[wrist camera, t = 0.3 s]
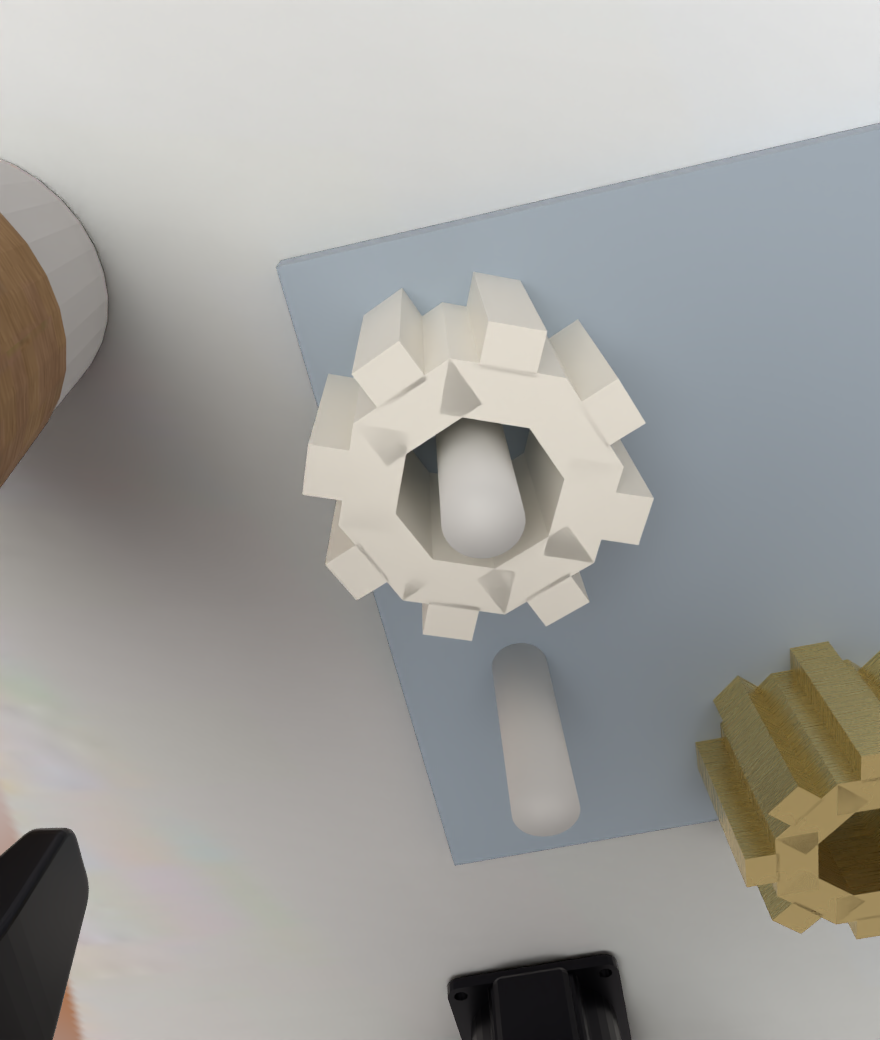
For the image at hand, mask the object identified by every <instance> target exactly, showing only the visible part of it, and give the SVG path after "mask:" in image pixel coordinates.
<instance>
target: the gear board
mask: <svg viewBox="0 0 880 1040" xmlns="http://www.w3.org/2000/svg"><path fill="white" fill-rule="evenodd" d="M276 269H277V272H278V275H279V279H280V282H281V285H282V289H283V292H284V295H285V299H286V302H287V305H288V309H289V312H290V315H291V319H292V322H293V326H294V329H295V332H296V336H297V339H298V342H299V346H300V349H301V352H302V356H303V359H304V362H305V366H306V369H307V372H308V376H309V379H310V382H311V386H312V389H313V392H314V396H315V399H316V403H317V406H318V408H319V404H320V401H321V397H322V394H323V390H324V387H325V383H326V380H327V376H328V374H334V375H340V376H346V377H352V378H354V377H353V376H352V369H353V364H354V359H355V354H356V350H357V345H358V340H359V335H360V330H361V325H362V321H363V316H364V315H365V314H366V313H367V312H369V311H370V310H372V309H373V308H374V307H376V306H377V305H379V304H380V303H381V302H383V301H384V300H386V299H387V298H388V297H390V296H391V295H393V294H394V293H395V292H397V291H398V290H400V289H401V288H403V290H404V291H405V293H406V294H407V295H408V297H409V298H410V300H411V301H412V302H413V304H414V305H415V307H416V308H417V310H418V311H419V312H420V314H421V315H422V316H423V315H425V314H426V313H428V312H429V311H430V310H432V309H433V308H435V307H436V306H437V305H439V304H440V303H442V302H444V303H450V304H455V305H461V306H467V301H468V296H469V291H470V285H471V280H472V275H473V272H478V273H483V274H489V275H494V276H500V277H505V278H511V279H516V280H520V281H521V283H522V285H523V286H524V288H525V290H526V292H527V294H528V296H529V298H530V300H531V302H532V303H533V305H534V307H535V309H536V311H537V313H538V315H539V317H540V319H541V320H542V322H543V324H544V326H545V328H546V330H547V336H548V338H550V337H552V336H553V335H555V334H556V333H558V332H559V331H561V330H562V329H564V328H565V327H567V326H568V325H570V324H571V323H573V322H574V321H576V320H577V319H578V320H579V321H580V323H581V324H582V326H583V327H584V329H585V330H586V332H587V333H588V335H589V336H590V338H591V339H592V340H593V342H594V343H595V345H596V346H597V348H598V349H599V351H600V352H601V354H602V355H603V357H604V358H605V360H606V361H607V362H608V364H609V365H610V367H611V368H612V370H613V371H614V373H615V374H616V376H617V377H618V379H619V380H620V382H621V383H622V385H623V387H624V388H625V390H626V392H627V393H628V395H629V396H630V398H631V400H632V401H633V403H634V405H635V406H636V408H637V410H638V411H639V413H640V414H641V416H642V418H643V419H644V421H645V424H644V425H642V426H640V427H639V428H637V429H636V430H634V431H632V432H631V433H629V434H627V435H626V436H624V437H622V438H621V439H620V440H621V442H622V444H623V445H624V447H625V449H626V450H627V452H628V454H629V456H630V457H631V459H632V461H633V463H634V464H635V466H636V468H637V470H638V471H639V473H640V475H641V477H642V478H643V480H644V482H645V484H646V485H647V487H648V489H649V491H650V492H651V494H652V496H653V498H654V500H653V503H652V506H651V509H650V512H649V515H648V518H647V521H646V524H645V527H644V530H643V533H642V536H641V539H640V542H639V545H635V544H628V543H621V542H615V541H608V540H601V542H600V546H599V549H598V552H597V555H596V558H595V562H594V563H593V564H591V565H590V566H588V567H586V568H584V569H583V570H581V571H579V572H580V575H581V578H582V581H583V584H584V587H585V590H586V593H587V596H588V599H589V601H590V602H589V603H587V604H585V605H584V606H582V607H580V608H578V609H576V610H575V611H573V612H571V613H569V614H568V615H566V616H564V617H562V618H561V619H559V620H557V621H555V622H554V623H552V624H550V625H548V626H545V624H544V623H543V622H542V621H541V619H540V618H539V617H538V615H537V614H536V613H535V611H534V610H533V609H532V608H531V606H530V605H529V604H528V602H526V603H524V604H522V605H520V606H519V607H517V608H515V609H513V610H512V611H510V612H508V613H507V614H505V615H504V614H497V613H490V612H483V611H479V613H478V618H477V622H476V626H475V630H474V634H473V638H472V641H468V640H461V639H453V638H446V637H438V636H431V635H424V634H423V628H422V603H418V602H410V601H403V600H402V599H401V598H400V597H399V595H398V594H397V593H396V592H395V591H394V590H393V588H392V587H391V586H390V585H389V584H388V583H387V582H386V583H385V584H383V585H382V586H380V587H378V588H377V589H375V590H373V593H374V597H375V600H376V603H377V607H378V610H379V613H380V617H381V620H382V623H383V627H384V630H385V633H386V637H387V640H388V644H389V647H390V650H391V654H392V657H393V660H394V664H395V667H396V670H397V674H398V677H399V680H400V684H401V687H402V690H403V694H404V697H405V700H406V704H407V707H408V710H409V714H410V717H411V721H412V724H413V727H414V731H415V734H416V737H417V741H418V744H419V747H420V751H421V754H422V757H423V761H424V764H425V767H426V771H427V774H428V777H429V781H430V784H431V787H432V791H433V794H434V797H435V801H436V804H437V808H438V811H439V814H440V818H441V821H442V824H443V828H444V831H445V834H446V838H447V841H448V844H449V848H450V851H451V854H452V858H453V861H454V864H455V865H461V864H466V863H472V862H478V861H484V860H490V859H495V858H501V857H507V856H513V855H519V854H524V853H530V852H536V851H542V850H548V849H553V848H559V847H565V846H571V845H577V844H582V843H588V842H594V841H600V840H606V839H611V838H617V837H623V836H629V835H635V834H640V833H646V832H652V831H658V830H663V829H669V828H675V827H681V826H687V825H692V824H698V823H704V822H710V821H716V820H719V819H718V816H717V814H716V811H715V809H714V806H713V804H712V802H711V799H710V797H709V794H708V792H707V790H706V787H705V785H704V782H703V780H702V777H701V775H700V773H699V770H698V766H697V755H696V745H695V742H699V741H705V740H710V739H716V738H721V728H720V723H721V722H722V721H723V720H722V718H721V716H720V714H719V712H718V710H717V708H716V706H715V704H714V702H713V700H714V699H715V698H716V697H717V696H718V695H719V694H720V693H721V692H722V691H723V690H724V689H725V688H726V687H727V686H728V685H729V684H730V683H731V682H732V680H733V679H734V678H735V677H736V676H737V675H738V676H740V677H742V678H743V679H745V680H747V681H749V682H751V683H752V684H754V685H756V686H759V685H760V684H761V683H762V682H763V681H764V680H765V679H766V678H767V677H768V676H769V675H770V674H771V673H776V672H782V671H787V670H790V648H794V647H800V646H805V645H810V644H816V643H821V642H826V641H829V643H830V644H831V645H832V647H833V648H834V650H835V651H836V652H837V654H838V655H839V656H840V658H841V659H842V660H847V659H848V660H850V661H852V662H853V663H855V664H857V665H858V666H860V667H863V666H864V665H865V664H866V663H867V662H868V661H869V660H870V659H871V658H872V657H873V656H874V655H875V654H877V653H878V652H879V651H880V123H878V124H873V125H869V126H865V127H860V128H856V129H852V130H847V131H843V132H839V133H834V134H830V135H825V136H821V137H817V138H812V139H808V140H804V141H799V142H795V143H791V144H786V145H782V146H778V147H773V148H769V149H764V150H760V151H756V152H751V153H747V154H743V155H738V156H734V157H730V158H725V159H721V160H717V161H712V162H708V163H703V164H699V165H695V166H690V167H686V168H682V169H677V170H673V171H669V172H664V173H660V174H656V175H651V176H647V177H642V178H638V179H634V180H629V181H625V182H621V183H616V184H612V185H608V186H603V187H599V188H595V189H590V190H586V191H581V192H577V193H573V194H568V195H564V196H560V197H555V198H551V199H547V200H542V201H538V202H534V203H529V204H525V205H520V206H516V207H512V208H507V209H503V210H499V211H494V212H490V213H486V214H481V215H477V216H472V217H468V218H464V219H459V220H455V221H451V222H446V223H442V224H438V225H433V226H429V227H425V228H420V229H416V230H411V231H407V232H403V233H398V234H394V235H390V236H385V237H381V238H377V239H372V240H368V241H364V242H359V243H355V244H350V245H346V246H342V247H337V248H333V249H329V250H324V251H320V252H316V253H311V254H307V255H303V256H298V257H294V258H289V259H285V260H281V261H280V263H279V264H278V265H277V267H276ZM529 430H530V428H525V427H519V426H512V425H506V424H500V423H494V422H488V421H482V420H476V419H470V418H463V417H462V418H461V419H459V420H457V421H456V422H454V423H453V424H451V425H450V426H448V427H447V428H445V429H444V430H442V431H441V432H439V433H438V434H436V435H435V436H433V437H432V438H430V439H428V440H427V441H425V442H424V443H422V444H421V445H419V446H418V447H416V448H415V449H413V450H412V451H413V452H414V453H415V455H416V456H417V457H418V458H419V460H420V461H421V462H422V464H423V465H424V466H425V467H426V469H427V470H428V471H429V472H430V473H437V474H438V481H439V497H440V513H441V527H442V532H443V535H444V537H445V539H446V540H447V542H448V543H449V545H450V546H451V547H452V548H454V549H455V550H456V551H458V552H459V553H461V554H463V555H465V556H468V557H472V558H480V559H482V558H492V557H495V556H498V555H501V554H503V553H505V552H507V551H508V550H510V549H511V548H512V547H513V546H514V545H515V544H516V543H517V542H518V541H519V539H520V538H521V536H522V534H523V531H524V528H525V519H526V518H525V512H524V508H523V504H522V500H521V496H520V492H519V488H518V484H517V481H516V477H515V473H514V469H513V465H512V461H511V460H513V459H515V458H516V457H518V456H519V455H521V454H523V453H524V450H525V446H526V442H527V438H528V434H529Z"/></svg>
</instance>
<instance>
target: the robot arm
mask: <svg viewBox="0 0 880 1040" xmlns="http://www.w3.org/2000/svg"><path fill="white" fill-rule="evenodd" d="M88 893H89V885H88V878H87V874H86V871H85V867H84V864H83V860H82V856H81V853H80V849H79V845H78V842H77V838H76V836H75V834H74V832H73V831H72V830H71V829H68V828H39V829H34V830H31V831H29V832H28V833H26V834H25V835H24V836H22V837H21V838H20V839H19V840H18V841H17V842H16V843H14V844H13V845H12V846H11V847H10V848H9V849H8V850H6V851H5V852H4V853H3V854H2V855H1V856H0V1040H53V1036H54V1033H55V1029H56V1025H57V1021H58V1018H59V1013H60V1010H61V1006H62V1002H63V998H64V994H65V990H66V986H67V982H68V978H69V974H70V970H71V966H72V962H73V958H74V954H75V950H76V946H77V942H78V938H79V934H80V930H81V926H82V922H83V918H84V914H85V910H86V906H87V902H88ZM448 1000H449V1003H450V1006H451V1009H452V1012H453V1015H454V1018H455V1021H456V1024H457V1027H458V1029H459V1032H460V1035H461V1038H462V1040H631V1035H630V1030H629V1024H628V1019H627V1013H626V1008H625V1002H624V997H623V991H622V986H621V980H620V975H619V970H618V965H617V961H616V959H615V958H614V957H613V956H610V955H598V956H592V957H586V958H579V959H573V960H567V961H561V962H555V963H549V964H543V965H536V966H530V967H524V968H518V969H512V970H506V971H499V972H493V973H487V974H481V975H475V976H469V977H463V978H457V979H454V980H452V981H450V982H449V984H448Z"/></svg>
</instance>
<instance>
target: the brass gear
mask: <svg viewBox="0 0 880 1040" xmlns="http://www.w3.org/2000/svg"><path fill="white" fill-rule="evenodd" d="M713 702H714V704H715V706H716V708H717V710H718V712H719V714H720V716H721V718H722V720H723V721H722V722H721V723H720V728H721V738H716V739H710V740H705V741H699V742H695V745H696V755H697V766H698V770H699V773H700V775H701V777H702V780H703V782H704V785H705V787H706V790H707V792H708V794H709V797H710V799H711V802H712V804H713V806H714V809H715V811H716V814H717V816H718V819H719V821H720V823H721V826H722V828H723V831H724V833H725V836H726V838H727V840H728V843H729V845H730V848H731V850H732V853H733V855H734V857H735V860H736V862H737V865H738V867H739V870H740V872H741V874H742V877H743V879H744V882H745V884H746V887H751V886H758V888H759V890H760V893H761V895H762V897H763V900H764V902H765V904H766V907H767V909H768V911H769V914H770V916H771V918H772V920H773V921H775V922H777V923H779V924H781V925H783V926H786V927H788V928H790V929H792V930H794V931H796V932H798V933H801V934H802V933H803V932H804V931H805V930H806V929H808V928H809V927H810V926H811V925H813V924H814V923H815V922H816V921H818V920H819V919H820V918H821V917H822V918H824V919H826V920H828V921H830V922H832V923H835V924H841V923H847V922H848V924H849V926H850V928H851V930H852V931H853V933H854V935H855V937H856V939H861V938H868V937H874V936H880V651H879V652H878V653H877V654H875V655H874V656H873V657H872V658H871V659H870V660H869V661H868V662H867V663H866V664H865V665H864V666H863V667H860V666H858V665H857V664H855V663H853V662H852V661H850V660H848V659H847V660H842V659H841V658H840V656H839V655H838V654H837V652H836V651H835V650H834V648H833V647H832V645H831V644H830V643H829V641H826V642H821V643H816V644H810V645H805V646H800V647H794V648H790V670H787V671H782V672H776V673H771V674H770V675H769V676H768V677H767V678H766V679H765V680H764V681H763V682H762V683H761V684H760V685H759V686H756V685H754V684H752V683H751V682H749V681H747V680H745V679H743V678H742V677H740V676H738V675H737V676H736V677H735V678H734V679H733V680H732V682H731V683H730V684H729V685H728V686H727V687H726V688H725V689H724V690H723V691H722V692H721V693H720V694H719V695H718V696H717V697H716V698H715V699H714V700H713Z"/></svg>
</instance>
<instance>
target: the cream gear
mask: <svg viewBox="0 0 880 1040" xmlns="http://www.w3.org/2000/svg"><path fill="white" fill-rule="evenodd" d="M352 376H353V377H354V378H352V377H346V376H340V375H334V374H328V376H327V380H326V383H325V387H324V390H323V394H322V397H321V401H320V404H319V408H318V411H317V415H316V418H315V422H314V425H313V429H312V432H311V436H310V439H309V443H308V449H307V458H306V466H305V474H304V483H303V491H302V495H308V496H314V497H321V498H328V499H334V500H336V506H335V511H334V517H333V522H332V528H331V533H330V539H329V544H328V550H327V555H326V561H325V565H326V567H327V568H328V569H329V570H330V571H331V572H332V573H333V574H334V576H335V577H336V578H337V579H338V580H339V581H340V582H341V583H342V585H343V586H344V587H345V588H346V589H347V590H348V591H349V592H350V594H351V595H352V596H353V597H354V598H355V599H356V600H359V599H360V598H362V597H364V596H365V595H367V594H369V593H370V592H372V591H373V590H375V589H377V588H378V587H380V586H382V585H383V584H385V583H386V582H387V583H388V584H389V585H390V586H391V587H392V588H393V590H394V591H395V592H396V593H397V594H398V595H399V597H400V598H401V599H402V600H403V601H410V602H418V603H422V628H423V634H424V635H431V636H438V637H446V638H453V639H461V640H468V641H472V638H473V634H474V630H475V626H476V622H477V618H478V613H479V611H483V612H490V613H497V614H504V615H505V614H507V613H508V612H510V611H512V610H513V609H515V608H517V607H519V606H520V605H522V604H524V603H526V602H528V604H529V605H530V606H531V608H532V609H533V610H534V611H535V613H536V614H537V615H538V617H539V618H540V619H541V621H542V622H543V623H544V624H545V626H548V625H550V624H552V623H554V622H555V621H557V620H559V619H561V618H562V617H564V616H566V615H568V614H569V613H571V612H573V611H575V610H576V609H578V608H580V607H582V606H584V605H585V604H587V603H589V602H590V601H589V599H588V596H587V593H586V590H585V587H584V584H583V581H582V578H581V575H580V572H579V571H581V570H583V569H584V568H586V567H588V566H590V565H591V564H593V563H594V562H595V558H596V555H597V552H598V549H599V546H600V542H601V540H608V541H615V542H621V543H628V544H635V545H639V542H640V539H641V536H642V533H643V530H644V527H645V524H646V521H647V518H648V515H649V512H650V509H651V506H652V503H653V500H654V498H653V496H652V494H651V492H650V491H649V489H648V487H647V485H646V484H645V482H644V480H643V478H642V477H641V475H640V473H639V471H638V470H637V468H636V466H635V464H634V463H633V461H632V459H631V457H630V456H629V454H628V452H627V450H626V449H625V447H624V445H623V444H622V442H621V440H620V439H621V438H622V437H624V436H626V435H627V434H629V433H631V432H632V431H634V430H636V429H637V428H639V427H640V426H642V425H644V424H645V421H644V419H643V418H642V416H641V414H640V413H639V411H638V410H637V408H636V406H635V405H634V403H633V401H632V400H631V398H630V396H629V395H628V393H627V392H626V390H625V388H624V387H623V385H622V383H621V382H620V380H619V379H618V377H617V376H616V374H615V373H614V371H613V370H612V368H611V367H610V365H609V364H608V362H607V361H606V360H605V358H604V357H603V355H602V354H601V352H600V351H599V349H598V348H597V346H596V345H595V343H594V342H593V340H592V339H591V338H590V336H589V335H588V333H587V332H586V330H585V329H584V327H583V326H582V324H581V323H580V321H579V320H578V319H577V320H576V321H574V322H573V323H571V324H570V325H568V326H567V327H565V328H564V329H562V330H561V331H559V332H558V333H556V334H555V335H553V336H552V337H550V338H548V336H547V330H546V328H545V326H544V324H543V322H542V320H541V319H540V317H539V315H538V313H537V311H536V309H535V307H534V305H533V303H532V302H531V300H530V298H529V296H528V294H527V292H526V290H525V288H524V286H523V285H522V283H521V281H520V280H516V279H511V278H505V277H500V276H494V275H489V274H483V273H478V272H473V275H472V280H471V285H470V291H469V296H468V301H467V306H461V305H455V304H450V303H444V302H442V303H440V304H439V305H437V306H436V307H435V308H433V309H432V310H430V311H429V312H428V313H426V314H425V315H423V316H422V315H421V314H420V312H419V311H418V310H417V308H416V307H415V305H414V304H413V302H412V301H411V300H410V298H409V297H408V295H407V294H406V293H405V291H404V290H403V288H401V289H400V290H398V291H397V292H395V293H394V294H393V295H391V296H390V297H388V298H387V299H386V300H384V301H383V302H381V303H380V304H379V305H377V306H376V307H374V308H373V309H372V310H370V311H369V312H367V313H366V314H365V315H364V316H363V321H362V325H361V330H360V335H359V340H358V345H357V350H356V354H355V359H354V364H353V369H352ZM462 417H463V418H470V419H476V420H482V421H488V422H494V423H500V424H506V425H512V426H519V427H525V428H530V430H529V434H528V438H527V442H526V446H525V450H524V453H523V454H521V455H519V456H518V457H516V458H515V459H513V460H511V461H512V465H513V469H514V473H515V477H516V481H517V484H518V488H519V492H520V496H521V500H522V504H523V508H524V512H525V518H526V519H525V528H524V531H523V534H522V536H521V538H520V539H519V541H518V542H517V543H516V544H515V545H514V546H513V547H512V548H511V549H510V550H508V551H507V552H505V553H503V554H501V555H498V556H495V557H492V558H482V559H480V558H472V557H468V556H465V555H463V554H461V553H459V552H458V551H456V550H455V549H454V548H452V547H451V546H450V545H449V543H448V542H447V540H446V539H445V537H444V535H443V532H442V527H441V513H440V497H439V481H438V474H437V473H430V472H429V471H428V470H427V469H426V467H425V466H424V465H423V464H422V462H421V461H420V460H419V458H418V457H417V456H416V455H415V453H414V452H413V451H412V450H413V449H415V448H416V447H418V446H419V445H421V444H422V443H424V442H425V441H427V440H428V439H430V438H432V437H433V436H435V435H436V434H438V433H439V432H441V431H442V430H444V429H445V428H447V427H448V426H450V425H451V424H453V423H454V422H456V421H457V420H459V419H461V418H462Z"/></svg>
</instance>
